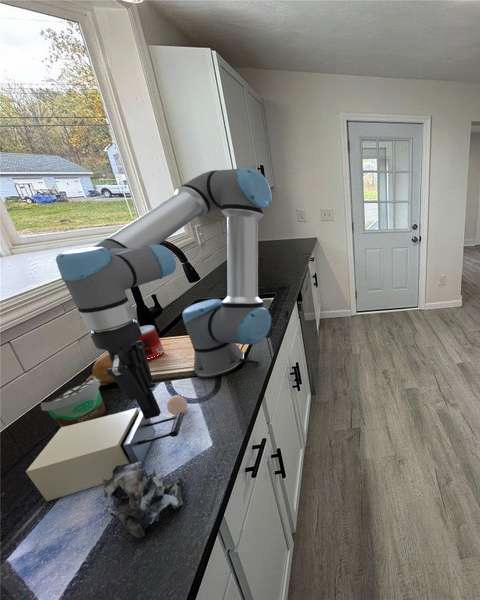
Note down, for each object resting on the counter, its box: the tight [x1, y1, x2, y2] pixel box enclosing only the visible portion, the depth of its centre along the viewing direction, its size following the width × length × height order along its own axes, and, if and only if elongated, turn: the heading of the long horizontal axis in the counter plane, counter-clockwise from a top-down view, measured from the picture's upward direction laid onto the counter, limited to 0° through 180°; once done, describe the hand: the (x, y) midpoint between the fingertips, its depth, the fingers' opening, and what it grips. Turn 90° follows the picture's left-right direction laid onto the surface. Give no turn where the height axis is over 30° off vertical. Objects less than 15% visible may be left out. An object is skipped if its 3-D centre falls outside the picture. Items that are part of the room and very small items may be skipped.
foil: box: [96, 460, 184, 539], centre depth 61 cm, size 12×11×15 cm
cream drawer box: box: [25, 407, 140, 502], centre depth 70 cm, size 15×13×9 cm
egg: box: [166, 394, 188, 416], centre depth 86 cm, size 4×4×6 cm
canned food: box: [136, 324, 165, 362], centre depth 115 cm, size 8×8×11 cm
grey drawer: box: [120, 410, 185, 467], centre depth 73 cm, size 21×11×7 cm, turn 113°
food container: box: [40, 375, 106, 428], centre depth 85 cm, size 12×6×10 cm, turn 168°
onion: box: [91, 351, 117, 384], centre depth 102 cm, size 10×10×10 cm
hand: (153, 415), depth 73 cm, fingers closed
